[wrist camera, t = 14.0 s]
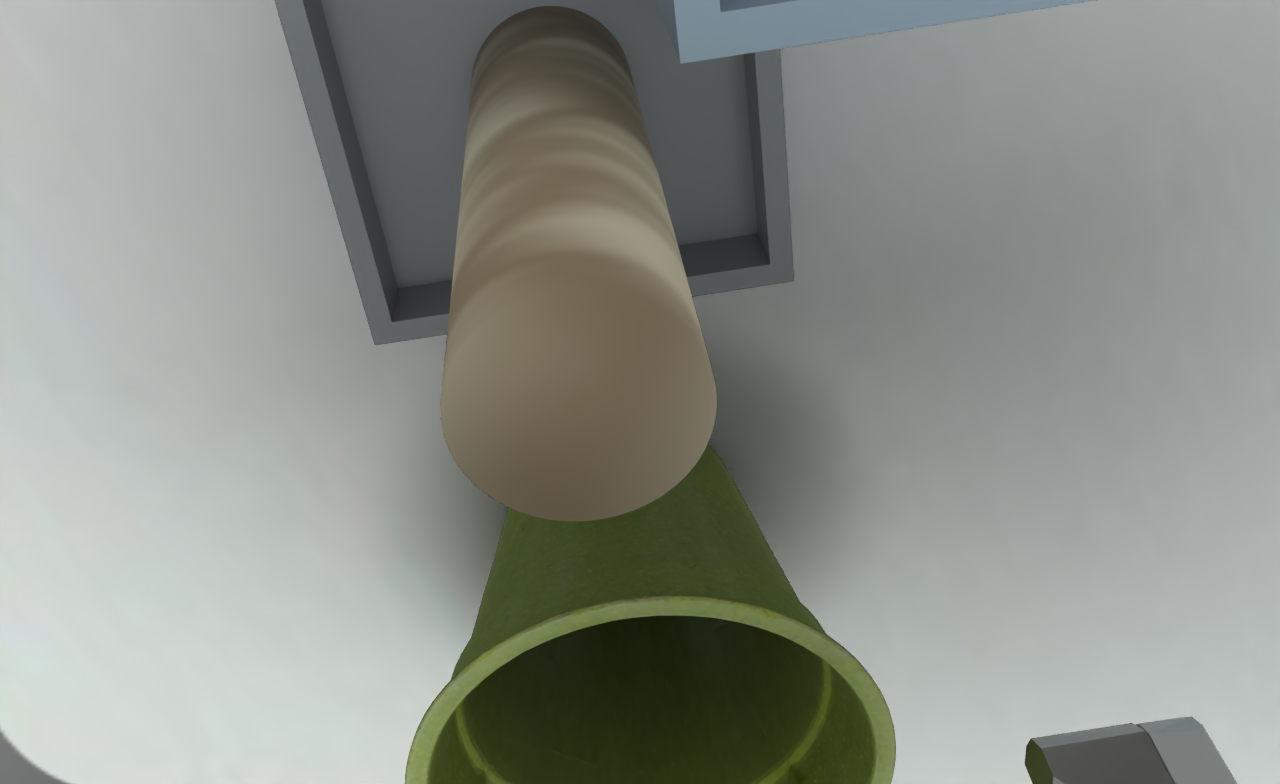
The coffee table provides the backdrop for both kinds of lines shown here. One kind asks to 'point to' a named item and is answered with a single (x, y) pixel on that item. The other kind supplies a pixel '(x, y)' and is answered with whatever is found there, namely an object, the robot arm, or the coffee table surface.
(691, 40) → the blue storage bin
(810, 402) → the coffee table surface
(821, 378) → the coffee table surface
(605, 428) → the dowel
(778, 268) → the tray
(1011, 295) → the coffee table surface
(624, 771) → the plant pot
